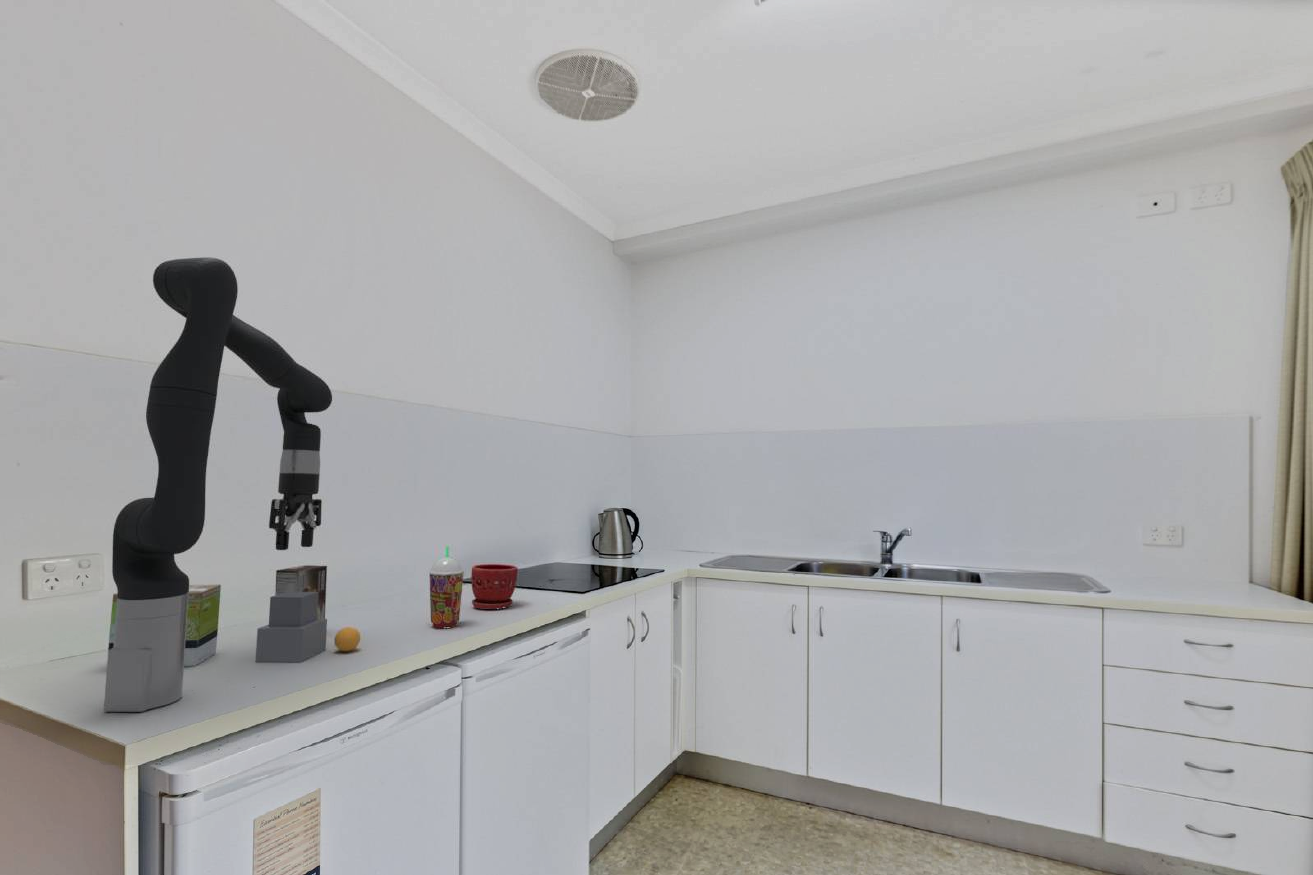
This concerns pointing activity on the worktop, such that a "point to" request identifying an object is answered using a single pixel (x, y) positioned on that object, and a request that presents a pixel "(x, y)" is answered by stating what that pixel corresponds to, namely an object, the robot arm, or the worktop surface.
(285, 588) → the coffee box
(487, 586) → the plant pot
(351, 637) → the ball
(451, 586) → the smoothie
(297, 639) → the stepped grey block
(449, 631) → the worktop surface
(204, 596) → the tea box
